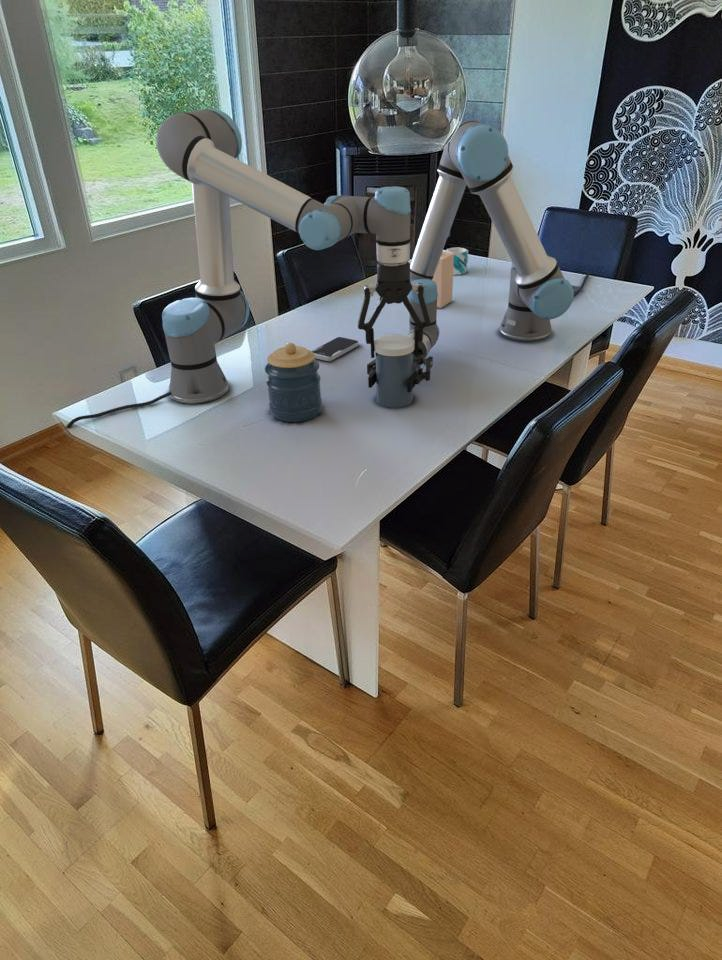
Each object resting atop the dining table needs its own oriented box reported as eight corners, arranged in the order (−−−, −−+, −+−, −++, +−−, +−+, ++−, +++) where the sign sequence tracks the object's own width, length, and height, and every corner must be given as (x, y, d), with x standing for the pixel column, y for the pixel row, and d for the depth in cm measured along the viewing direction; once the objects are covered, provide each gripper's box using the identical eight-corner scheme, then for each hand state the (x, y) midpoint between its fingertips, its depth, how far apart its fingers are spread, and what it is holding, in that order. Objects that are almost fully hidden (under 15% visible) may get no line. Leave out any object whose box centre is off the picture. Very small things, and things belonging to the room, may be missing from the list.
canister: (275, 426, 159) (266, 357, 150) (266, 403, 170) (257, 337, 160) (328, 418, 162) (323, 349, 153) (316, 396, 173) (310, 330, 163)
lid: (372, 356, 159) (372, 349, 158) (375, 340, 167) (375, 334, 166) (414, 356, 158) (414, 349, 157) (415, 341, 166) (415, 334, 165)
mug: (441, 273, 261) (442, 251, 257) (455, 265, 270) (456, 243, 265) (461, 275, 257) (462, 253, 253) (474, 267, 266) (475, 246, 261)
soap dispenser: (441, 308, 227) (443, 241, 215) (418, 304, 231) (419, 238, 219) (457, 297, 236) (460, 232, 224) (435, 294, 240) (437, 230, 228)
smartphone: (359, 341, 201) (329, 357, 190) (359, 345, 201) (329, 362, 191) (338, 336, 204) (308, 352, 194) (339, 340, 205) (308, 357, 195)
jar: (370, 404, 168) (368, 347, 160) (385, 389, 175) (384, 334, 167) (404, 410, 165) (404, 353, 156) (418, 395, 171) (419, 339, 163)
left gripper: (343, 268, 148) (348, 362, 160) (445, 264, 148) (442, 358, 160) (343, 259, 154) (348, 350, 166) (441, 255, 154) (438, 346, 166)
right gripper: (453, 367, 179) (432, 404, 162) (375, 359, 186) (347, 393, 168) (454, 341, 175) (433, 375, 158) (374, 333, 182) (346, 366, 164)
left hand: (394, 354), depth 163 cm, fingers closed on lid, 10 cm apart
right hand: (389, 384), depth 163 cm, fingers closed on jar, 9 cm apart
